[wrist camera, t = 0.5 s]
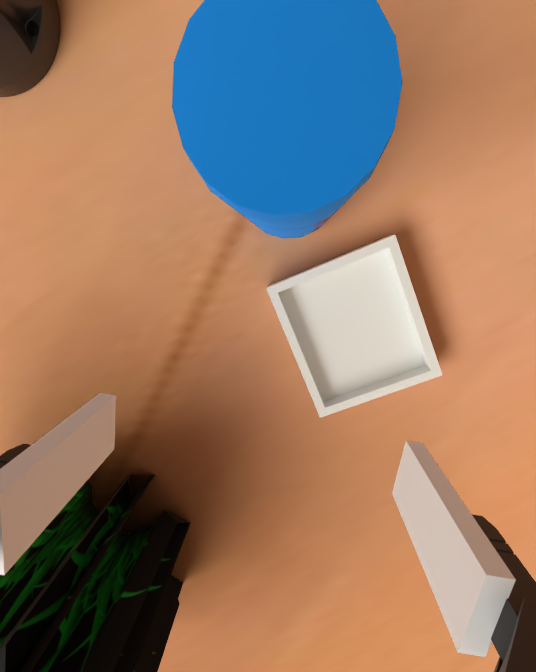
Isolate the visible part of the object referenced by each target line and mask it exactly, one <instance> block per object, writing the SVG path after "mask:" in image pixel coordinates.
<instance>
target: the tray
mask: <svg viewBox="0 0 536 672" xmlns="http://www.w3.org/2000/svg"><path fill="white" fill-rule="evenodd" d="M266 289H267V292H268V294H269V296H270V299H271V301H272V304H273V306H274V308H275V311H276V313H277V316H278V318H279V320H280V323H281V325H282V328H283V330H284V332H285V335H286V337H287V340H288V342H289V344H290V347H291V349H292V352H293V354H294V356H295V359H296V361H297V364H298V366H299V368H300V371H301V373H302V376H303V378H304V380H305V383H306V385H307V388H308V390H309V392H310V395H311V397H312V400H313V402H314V404H315V407H316V409H317V412H318V414H319V416H320V418H321V417H324V416H327V415H329V414H332V413H335V412H338V411H341V410H344V409H347V408H350V407H352V406H355V405H358V404H361V403H364V402H367V401H370V400H373V399H375V398H378V397H381V396H384V395H387V394H390V393H393V392H396V391H398V390H401V389H404V388H407V387H410V386H413V385H416V384H419V383H421V382H424V381H427V380H430V379H433V378H436V377H439V376H441V375H442V372H441V369H440V366H439V363H438V360H437V357H436V354H435V351H434V348H433V345H432V343H431V340H430V337H429V334H428V331H427V328H426V325H425V322H424V319H423V316H422V313H421V310H420V307H419V304H418V301H417V298H416V295H415V292H414V289H413V286H412V283H411V280H410V277H409V274H408V271H407V268H406V265H405V262H404V259H403V256H402V253H401V250H400V247H399V244H398V241H397V238H396V235H395V234H394V235H389V236H386V237H384V238H381V239H379V240H377V241H374V242H372V243H369V244H367V245H365V246H362V247H360V248H357V249H355V250H353V251H350V252H348V253H345V254H343V255H341V256H338V257H336V258H333V259H331V260H329V261H326V262H324V263H321V264H319V265H317V266H314V267H312V268H309V269H307V270H305V271H302V272H300V273H298V274H295V275H293V276H290V277H288V278H286V279H283V280H281V281H278V282H276V283H274V284H271V285H269V286H267V288H266Z"/></svg>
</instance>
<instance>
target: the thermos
mask: <svg viewBox="0 0 536 672" xmlns="http://www.w3.org/2000/svg"><path fill="white" fill-rule="evenodd" d="M401 87H402V77H401V70H400V64H399V57H398V50H397V43H396V37H395V34H394V33H393V31H392V29H391V27H390V25H389V23H388V21H387V19H386V18H385V16H384V14H383V12H382V10H381V8H380V6H379V4H378V3H377V1H376V0H204V2H203V3H202V4H201V5H200V7H199V8H198V9H197V10H196V12H195V13H194V14H193V16H192V17H191V18H190V19H189V22H188V25H187V27H186V30H185V33H184V36H183V39H182V41H181V44H180V47H179V50H178V52H177V55H176V58H175V61H174V73H173V100H172V108H173V112H174V115H175V119H176V123H177V126H178V130H179V134H180V137H181V141H182V145H183V148H184V150H185V152H186V154H187V155H188V157H189V159H190V161H191V162H192V164H193V165H194V167H195V168H196V170H197V171H198V173H199V174H200V176H201V177H202V179H203V180H204V182H205V183H206V185H207V186H208V188H209V189H210V191H211V192H212V193H214V194H215V195H216V196H218V197H219V198H220V199H222V200H223V201H224V202H226V203H227V204H228V205H230V206H231V207H232V208H234V209H235V210H236V211H238V212H239V213H240V214H242V215H243V216H244V217H246V218H247V219H248V220H250V221H251V222H252V223H254V224H255V225H256V226H258V227H259V228H260V229H261V230H263V231H264V232H265V233H267V234H271V235H274V236H277V237H281V238H294V237H302V236H304V235H306V234H309V233H311V232H313V231H315V230H317V229H319V228H320V227H321V226H322V225H323V224H324V223H325V222H326V221H327V220H328V219H329V218H330V217H331V216H332V215H333V214H334V213H335V212H336V211H337V210H338V209H339V208H340V207H341V206H342V205H343V204H344V203H345V202H346V201H347V200H348V199H349V198H350V197H351V196H352V195H353V194H354V193H355V192H356V191H357V190H358V189H359V188H360V187H361V186H362V185H363V184H364V183H365V182H366V181H367V180H368V179H369V178H370V176H371V174H372V173H373V171H374V169H375V167H376V165H377V163H378V161H379V159H380V157H381V155H382V153H383V151H384V149H385V147H386V146H387V144H388V142H389V140H390V137H391V135H392V132H393V130H394V128H395V122H396V116H397V110H398V104H399V98H400V93H401Z"/></svg>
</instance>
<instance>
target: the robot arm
mask: <svg viewBox="0 0 536 672" xmlns="http://www.w3.org/2000/svg"><path fill="white" fill-rule="evenodd" d="M59 26H60V25H59V12H58V6H57V2H56V0H0V97H8V96H14V95H17V94H20V93H23V92H25V91H27V90H29V89H30V88H32V87H33V86H34V85H36V84H37V83H38V82H39V81H40V80H41V79H42V78H43V76H44V75H45V74H46V72H47V71H48V69H49V67H50V66H51V64H52V61H53V59H54V56H55V53H56V50H57V46H58V40H59ZM115 417H116V395H110V394H104V393H99V394H97V395H96V396H95V397H94V398H92V399H91V400H90V401H88V402H87V403H86V404H84V405H83V406H82V407H80V408H79V409H78V410H77V411H75V412H74V413H73V414H71V415H70V416H69V417H67V418H66V419H65V420H63V421H62V422H61V423H60V424H58V425H57V426H56V427H54V428H53V429H52V430H50V431H49V432H48V433H47V434H45V435H44V436H43V437H41V438H40V439H39V440H37V441H36V442H35V443H33V444H32V445H28V444H22V445H20V446H17V447H15V448H13V449H10V450H8V451H6V452H5V453H4V454H2V455H1V456H0V575H5V574H6V573H7V572H8V571H9V570H10V568H11V567H12V566H13V565H14V564H15V563H16V562H17V560H18V559H19V558H20V557H21V556H22V555H23V553H24V552H25V551H26V550H27V549H28V548H29V547H30V545H31V544H32V543H33V542H34V541H35V540H36V539H37V537H38V536H39V535H40V534H41V533H42V532H43V531H44V529H45V528H46V527H47V526H48V525H49V524H50V522H51V521H52V520H53V519H54V518H55V517H56V516H57V514H58V513H59V512H60V511H61V510H62V509H63V508H64V506H65V505H66V504H67V503H68V502H69V501H70V499H71V498H72V497H73V496H74V495H75V494H76V493H77V491H78V490H79V489H80V488H81V487H82V486H83V485H84V483H85V482H86V481H87V480H88V479H89V478H90V476H91V475H92V474H93V473H94V472H95V471H96V470H97V468H98V467H99V466H100V465H101V464H102V463H103V462H104V460H105V459H106V458H107V457H108V456H109V455H110V454H111V452H112V451H113V450H114V447H115ZM392 494H393V497H394V499H395V502H396V504H397V507H398V509H399V511H400V514H401V516H402V519H403V521H404V523H405V526H406V528H407V531H408V533H409V536H410V538H411V540H412V543H413V545H414V548H415V550H416V553H417V555H418V557H419V560H420V562H421V565H422V567H423V569H424V572H425V574H426V577H427V579H428V582H429V584H430V586H431V589H432V591H433V594H434V596H435V599H436V601H437V603H438V606H439V608H440V611H441V613H442V615H443V618H444V620H445V623H446V625H447V628H448V630H449V632H450V635H451V637H452V640H453V642H454V645H455V647H456V649H457V652H458V653H464V654H470V655H476V656H482V657H485V656H486V654H487V651H488V649H489V646H490V644H491V641H492V642H493V644H494V646H495V648H496V650H497V652H498V654H499V656H500V658H499V660H498V663H497V665H496V668H495V670H494V672H536V582H535V581H534V579H533V578H532V577H531V575H530V574H529V573H528V571H527V570H526V568H525V567H524V566H523V564H522V563H521V562H520V560H519V559H518V557H517V556H516V555H514V554H513V551H512V549H511V548H510V547H509V545H508V544H506V541H505V540H504V538H503V537H502V536H501V534H500V533H499V532H498V530H497V529H496V528H495V527H494V526H493V525H492V524H491V523H489V522H488V521H487V520H486V519H485V518H484V517H482V516H478V515H472V514H471V513H470V511H469V510H468V508H467V507H466V505H465V504H464V503H463V501H462V500H461V498H460V497H459V495H458V494H457V492H456V491H455V489H454V488H453V486H452V485H451V483H450V482H449V480H448V479H447V477H446V476H445V474H444V473H443V472H442V470H441V469H440V467H439V466H438V464H437V463H436V461H435V460H434V458H433V457H432V455H431V454H430V452H429V451H428V449H427V448H426V446H425V445H424V443H419V442H412V441H406V443H405V446H404V450H403V454H402V458H401V461H400V465H399V469H398V473H397V476H396V480H395V484H394V488H393V492H392Z"/></svg>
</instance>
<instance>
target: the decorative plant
mask: <svg viewBox="0 0 536 672" xmlns="http://www.w3.org/2000/svg"><path fill="white" fill-rule="evenodd" d="M129 477H130V475H128V476H127V477H126V478H125V480H124V481H123V482H122V484H121V485H120V486H119V488H118V489H117V490H116V492H115V493H114V494H113V496H112V497H111V498H110V500H109V501H108V502H107V504H106V505H105V506H104V508H103V509H102V510H101V512H100V513H99V512H98V510H97V509H96V507H95V505H94V504H93V500H92V486H91V484H90V483H89V482H88V481H86V482H85V483H84V485H83V486H82V487H81V488H80V489H79V490H78V491H77V493H76V494H75V495H74V496H73V497H72V498H71V499H70V501H69V502H68V503H67V504H66V505H65V506H64V508H63V509H62V510H61V511H60V512H59V513H58V514H57V516H56V517H55V518H54V519H53V520H52V521H51V522H50V524H49V525H48V526H47V527H46V528H45V529H44V531H43V532H42V533H41V534H40V535H39V536H38V537H37V539H36V540H35V541H34V542H33V543H32V544H31V545H30V547H29V548H28V549H27V550H26V551H25V552H24V553H23V555H22V556H21V557H20V558H19V559H18V560H17V562H16V563H15V564H14V565H13V566H12V567H11V568H10V570H9V571H8V572H7V573H6V574H5V575H0V672H157V671H158V668H159V665H160V662H161V659H162V656H163V653H164V649H165V646H166V643H167V640H168V637H169V634H170V631H171V628H172V625H173V622H174V619H175V616H176V613H177V610H178V607H179V601H178V597H179V594H180V591H181V588H182V585H183V582H181V581H180V580H178V579H176V578H175V577H173V576H172V575H171V572H172V570H173V567H174V565H175V562H176V559H177V557H178V554H179V552H180V549H181V546H182V544H183V541H184V538H185V536H186V533H187V531H188V528H189V525H190V523H191V522H190V523H188V522H186V521H185V520H183V519H181V518H179V517H177V516H175V515H174V514H172V513H170V512H168V511H166V510H164V511H163V513H162V514H161V516H160V517H159V518H158V520H157V521H156V523H155V524H154V525H153V527H152V528H151V529H146V530H139V531H132V532H131V533H129V534H127V533H124V532H121V531H120V529H121V528H122V526H123V525H124V523H125V521H126V520H127V518H128V517H129V515H130V513H131V512H132V510H133V509H134V507H135V506H136V504H137V502H138V501H139V499H140V497H141V496H142V494H143V493H144V491H145V489H146V488H147V486H148V485H149V483H150V481H151V480H152V478H153V477H154V476H152V477H151V478H150V479H149V480H148V481H147V482H145V483H144V484H143V485H142V486H141V487H140V489H139V490H138V492H137V493H136V495H135V496H134V498H133V499H132V501H131V502H130V492H129V483H128V478H129ZM129 502H130V504H129V505H128V503H129ZM127 505H128V507H127V509H126V510H125V512H124V513H123V515H122V516H121V517H120V515H121V514H122V512H123V511H124V509H125V508H126V506H127ZM178 522H182V523H178Z"/></svg>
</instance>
